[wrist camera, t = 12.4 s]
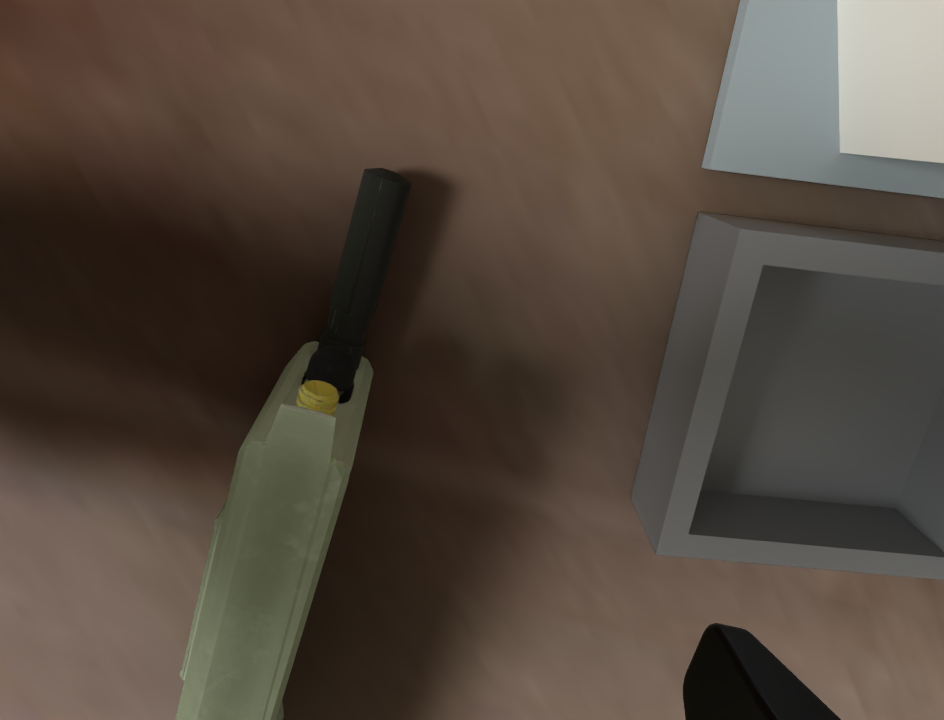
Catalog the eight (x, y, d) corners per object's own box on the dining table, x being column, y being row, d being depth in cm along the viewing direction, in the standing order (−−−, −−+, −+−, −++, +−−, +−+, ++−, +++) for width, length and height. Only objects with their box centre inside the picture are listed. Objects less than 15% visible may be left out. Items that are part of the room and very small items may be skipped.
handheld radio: (182, 762, 26) (331, 146, 18) (263, 776, 27) (445, 184, 19) (105, 965, 20) (279, 170, 12) (213, 978, 21) (451, 225, 12)
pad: (701, 167, 18) (709, 169, 18) (782, -181, 15) (794, -192, 15) (1038, 209, 19) (1056, 212, 18) (1174, -120, 16) (1200, -128, 16)
